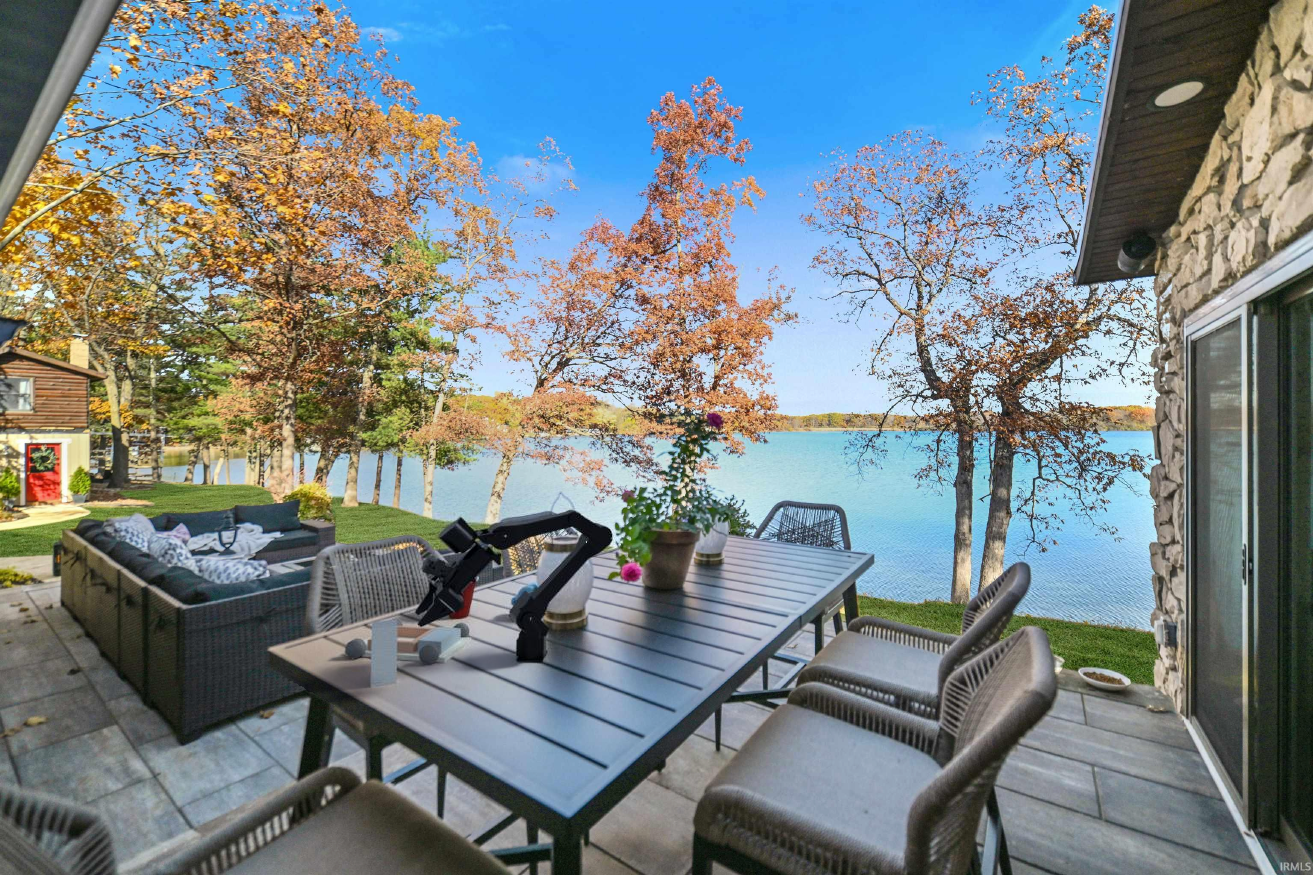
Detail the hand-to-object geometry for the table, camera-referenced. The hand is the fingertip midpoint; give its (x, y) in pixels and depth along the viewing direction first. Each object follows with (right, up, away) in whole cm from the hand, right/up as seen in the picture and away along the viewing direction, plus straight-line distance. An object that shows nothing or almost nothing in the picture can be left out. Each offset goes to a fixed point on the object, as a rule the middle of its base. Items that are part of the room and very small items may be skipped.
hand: (417, 619), depth 127 cm
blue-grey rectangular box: (-6, -13, -3) cm, 14 cm away
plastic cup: (-6, -13, +43) cm, 45 cm away
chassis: (-9, -13, +16) cm, 22 cm away
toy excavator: (+18, -14, +42) cm, 48 cm away
